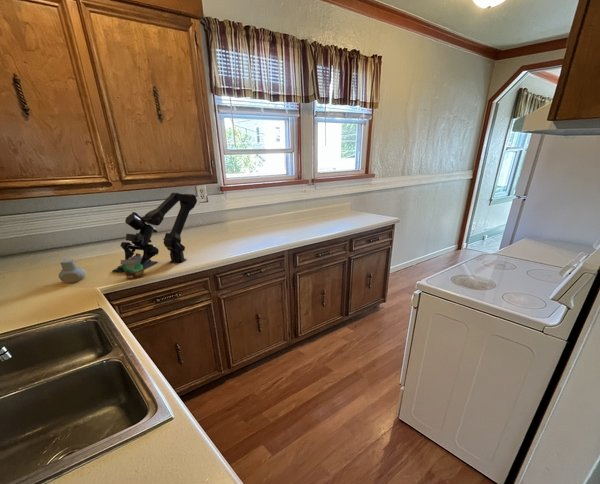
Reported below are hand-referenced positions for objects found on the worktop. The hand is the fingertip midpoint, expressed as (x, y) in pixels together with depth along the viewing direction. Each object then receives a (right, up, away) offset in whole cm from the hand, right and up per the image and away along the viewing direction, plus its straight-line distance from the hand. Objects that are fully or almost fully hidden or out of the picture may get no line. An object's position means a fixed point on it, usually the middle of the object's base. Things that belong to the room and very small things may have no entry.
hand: (133, 263), depth 158 cm
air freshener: (-29, -9, 0) cm, 30 cm away
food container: (+1, -6, +4) cm, 7 cm away
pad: (-7, +1, +17) cm, 18 cm away
